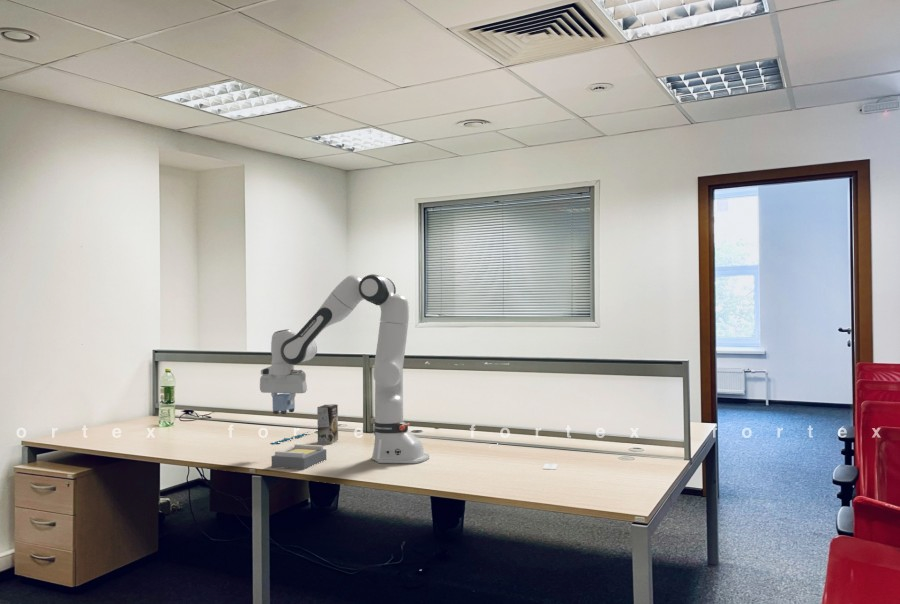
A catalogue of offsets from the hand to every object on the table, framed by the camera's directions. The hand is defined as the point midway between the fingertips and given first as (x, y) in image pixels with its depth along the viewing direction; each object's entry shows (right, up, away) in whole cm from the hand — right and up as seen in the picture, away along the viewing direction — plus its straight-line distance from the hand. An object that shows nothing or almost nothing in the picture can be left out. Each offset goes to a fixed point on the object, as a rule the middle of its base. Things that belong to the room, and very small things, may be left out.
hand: (283, 404), depth 269 cm
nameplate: (-3, -22, +39) cm, 45 cm away
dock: (+10, -20, -15) cm, 27 cm away
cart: (0, -4, 0) cm, 4 cm away
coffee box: (+13, -21, +25) cm, 35 cm away
